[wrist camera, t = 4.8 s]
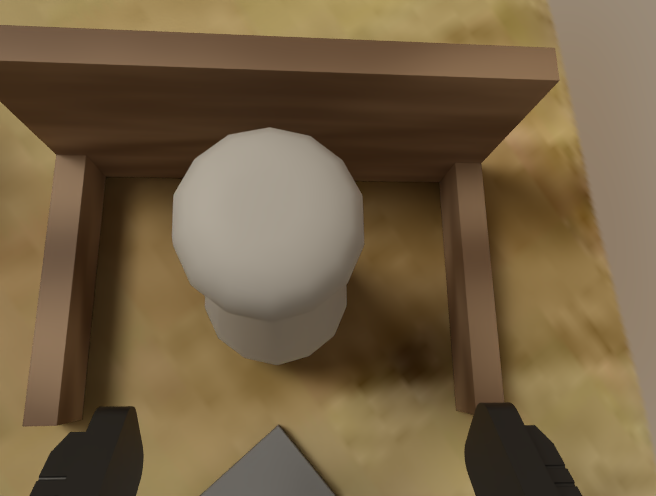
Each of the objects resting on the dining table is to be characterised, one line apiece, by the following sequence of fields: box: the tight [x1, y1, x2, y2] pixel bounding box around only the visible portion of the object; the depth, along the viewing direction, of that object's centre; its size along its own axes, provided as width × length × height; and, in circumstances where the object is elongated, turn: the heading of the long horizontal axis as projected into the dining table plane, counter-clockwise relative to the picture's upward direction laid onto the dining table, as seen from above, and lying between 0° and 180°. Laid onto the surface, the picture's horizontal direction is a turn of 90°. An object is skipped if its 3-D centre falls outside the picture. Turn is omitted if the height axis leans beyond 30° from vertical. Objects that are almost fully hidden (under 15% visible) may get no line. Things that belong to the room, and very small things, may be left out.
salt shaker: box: [172, 127, 364, 365], centre depth 16 cm, size 6×6×13 cm
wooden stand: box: [0, 25, 559, 426], centre depth 18 cm, size 12×18×9 cm, turn 91°
